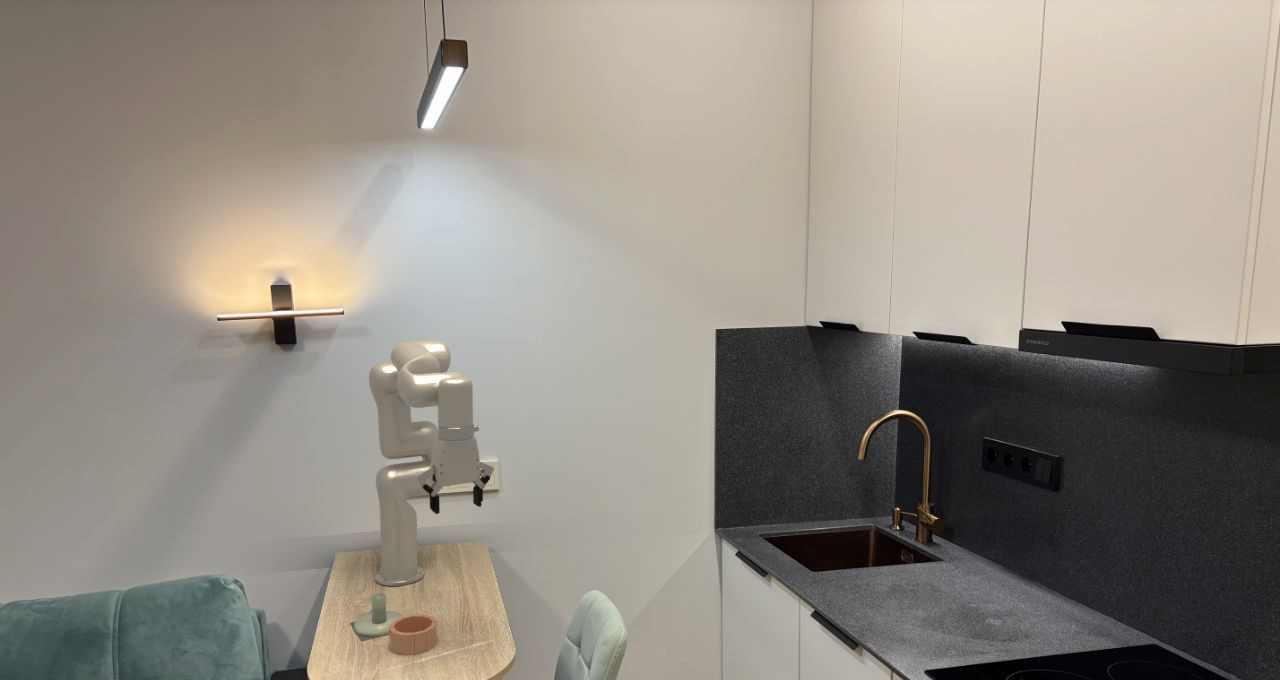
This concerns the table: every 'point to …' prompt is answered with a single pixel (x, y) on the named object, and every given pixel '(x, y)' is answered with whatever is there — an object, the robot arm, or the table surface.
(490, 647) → the table surface
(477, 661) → the table surface
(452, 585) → the table surface
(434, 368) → the robot arm
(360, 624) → the lid
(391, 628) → the bowl
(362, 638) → the mat
